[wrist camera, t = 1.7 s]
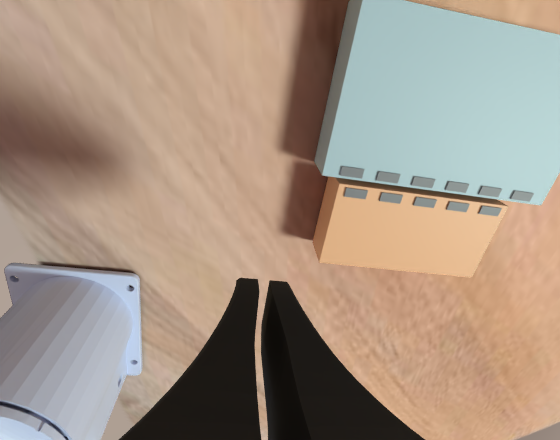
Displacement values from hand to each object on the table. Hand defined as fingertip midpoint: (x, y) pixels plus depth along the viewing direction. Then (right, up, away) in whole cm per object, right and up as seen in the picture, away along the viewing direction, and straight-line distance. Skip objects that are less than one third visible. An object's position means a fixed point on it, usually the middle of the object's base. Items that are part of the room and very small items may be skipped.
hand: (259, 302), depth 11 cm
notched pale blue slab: (+10, +9, +7) cm, 15 cm away
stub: (+8, +3, +10) cm, 13 cm away
